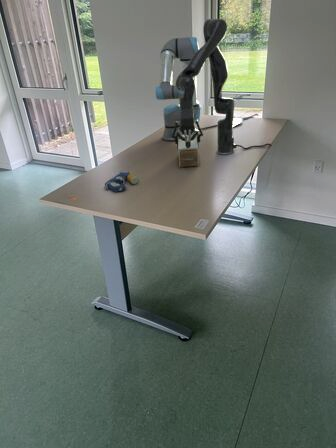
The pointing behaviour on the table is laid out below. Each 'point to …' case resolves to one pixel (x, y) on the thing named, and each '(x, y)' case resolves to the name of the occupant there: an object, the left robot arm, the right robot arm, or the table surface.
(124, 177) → the spray gun
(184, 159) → the drawer
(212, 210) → the table surface
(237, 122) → the spoon
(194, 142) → the cabinet
